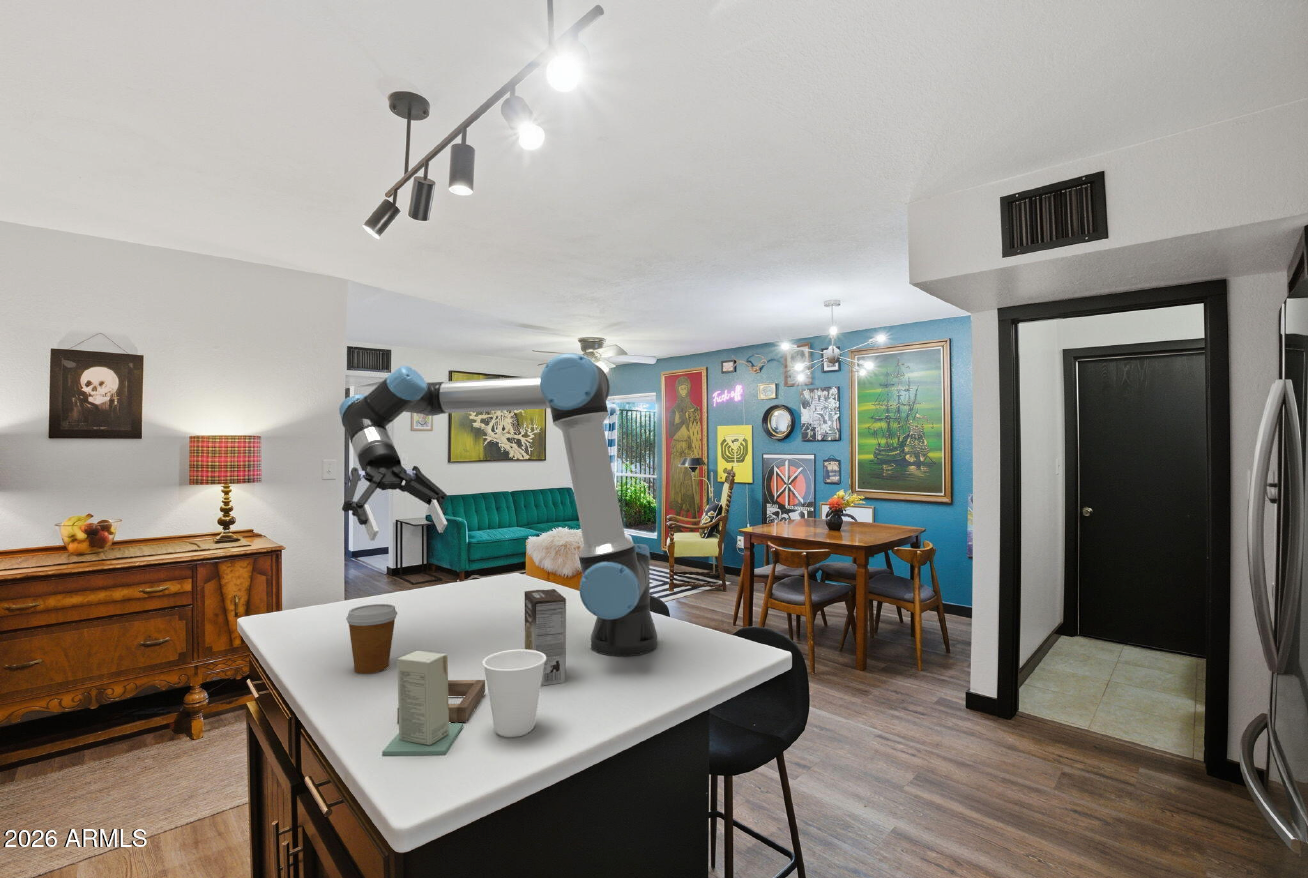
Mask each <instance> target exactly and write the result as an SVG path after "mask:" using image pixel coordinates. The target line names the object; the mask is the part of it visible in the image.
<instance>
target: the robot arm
mask: <svg viewBox="0 0 1308 878" xmlns="http://www.w3.org/2000/svg"><path fill="white" fill-rule="evenodd" d="M610 388H611V387H610V381H609V378H608V375H607V374H606V372H605V371H604V369H602V368H601V366H598V365H597V364H595V363H594V362H593V361H592V359H590V358H589V357H587V356H585V355H582V354H577V353H574V352H565V353H562V354H558V355H557V356H555V357H553V358H552V359H550V360H549V361H547V364H546V365H544V367H543V369H542V371H541V374H540V376H538V375H537V376H521V377H507V378H506V377H505V378H504V377H502V378H490V379H489V378H486V379H484V378H483V379H472V380H471V379H468V380H452V381H450V380H449V381H433V382H428V381H426V380H425V379H424V377H423V376H422V375H421V374H420V373H419V372H418V371H417V370H415V369H413V368H412V367H411V366H408V365H401V366H399V367H398V368H397V369H396V370H394V371H392V372H391V373H390V374H388V375H387V377H386V378H385V379H384V380H382V381H381V382H380V383H379V384H378V385H377V386H375V388H374V389H372V390H371V391H370V392H369V393H368V394H361V393H359V394H357V393H356V394H353V395H352V396H349V397H347V398H345V399H343V400H342V402H341V403H340V406H339V407H338V409H339V415H340V419H341V424H342V426H343V428H344V430H345V432H346V435H347V436H348V438H349V441H350V444H351V446H352V450H353V451H354V453H355V456H356V458H357V460H358V464H359V466H360V469H361V470H359V468H358V467H355V466H354V467H351V470H350V472H349V474H348V482H349V484H348V487H347V491H346V494H345V497H344V501H343V503H342V507H341V511H342V512H345V513H347V512H351V515H352V517H356V519H357V522H358V524H359V525H361V526H364V528H365V530H366V533H367V535H368V539H369V540H370V542H372V541H375V540H376V538H377V536H378V533H379V532H380V530H379V527H378V525H377V522H376V520H375V517H374V515H373V512H372V511H371V508H370V505H369V504H367V502H368V501H369V500H370V498H371V497H372V496H373V494H374V493H375V492H376V490H378V489H379V490H381V491H386V490H387V491H388V490H392V491H393V490H394V491H396V490H399V491H401V492H402V493H405V492H406V493H407V494H409V495H411V496H413V497H414V498H416V499H418V500H419V501H421V502H422V503H424V504H426V505H428V508H427V510H428V512H429V514H430V516H431V518H432V520H433V522H434V524H435V526H436V529H437V531H438V533H439V534H440V533H441V534H442V533H444V531H445V529H446V528H447V525H448V522H447V520H446V518H445V513H446V511H445V509H444V506H443V504H444V502H445V501H446V499H447V496H448V493H446V492H445V491H443V489H441V488H440V487H439V486H437V484H436V483H434V482H433V481H432V480H431V479H430V478H428V477H427V476H426V475H425V474H424V473H422V471H421V469H420V467H418V466H417V465H413V466H412V468H409V469H406V468H405V467H404V466H403V465H402V461H401V458H400V455H399V454H398V451H397V449H396V447H395V444H394V442H393V440H392V438H391V436H390V434H389V432H388V430H387V426H388V425H389V424H391V423H392V422H393V421H395V420H396V419H397V418H398V417H399V416H400V415H402V414H403V413H411V414H419V415H424V416H429V417H430V416H433V417H434V416H439V415H445V414H459V413H480V412H481V413H482V412H502V411H520V410H521V411H522V410H523V411H524V410H543V409H544V410H545V409H550V410H549V411H550V414H551V420H552V425H553V426H554V427H556V428H557V429H559V430H560V431H561V432H562V436H563V437H562V438H563V442H564V449H565V454H566V458H567V463H568V468H569V473H570V477H571V479H570V480H571V483H572V489H573V494H574V500H575V504H576V505H575V506H576V510H577V516H578V520H579V525H580V532H581V537H582V542H583V547H582V548H581V550H580V552H579V553H578V560H579V566H580V571H581V572H580V573H581V575H582V576H581V578H580V582H579V597H580V600H581V602H582V605H583V606H584V607H585V609H586V610H587V611H588V612H589V613H591V614H592V615H593V616H595V617H596V620H595V622H594V625H593V629H592V632H591V635H590V648H591V649H592V650H593V651H594V652H597V653H599V654H603V655H608V656H615V657H616V656H617V657H618V656H620V657H622V656H623V657H624V656H625V657H627V656H637V655H643V654H646V653H650V652H652V651H654V650H655V649H657V648H658V643H659V642H658V640H659V639H658V637H659V636H658V632H657V629H656V627H655V623H654V619H653V617H652V614H651V610H650V609H651V605H650V603H651V602H650V601H651V591H650V590H651V588H650V584H651V583H650V577H651V576H650V568H651V567H650V560H651V555H650V547H649V546H648V545H647V544H645V543H644V544H643V543H642V544H641V543H634V542H633V541H631V540H630V539H628V538H627V536H626V535H625V529H624V524H623V519H622V514H621V509H620V505H619V498H618V493H617V490H616V489H617V488H616V483H615V479H614V473H613V468H612V463H611V458H610V457H611V456H610V453H609V452H610V451H609V448H608V441H607V437H606V433H605V432H606V431H605V426H604V422H605V420H606V419H607V417H608V416H609V409H608V404H607V400H608V398H609V395H610ZM362 479H364V481H366V482H368V483H369V484H368V485H367V487H366V488H365V490H364V491H363V492H362V494H361V495H360V496H359V498H358V499H357V500H355V501H354V497H355V494H356V491H357V488H358V485H359V484H358V483H359V482H361V481H362ZM403 482H404V484H403Z"/></svg>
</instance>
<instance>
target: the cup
mask: <svg viewBox="0 0 1308 878" xmlns="http://www.w3.org/2000/svg"><path fill="white" fill-rule="evenodd" d="M545 661H546V656H545V654H543V653H541V652H539V651H535V650H526V649H525V648H524V649H523V648H522V649H521V648H520V649H509V650H508V649H507V650H503V651H499V652H495V653H492V654H489V655H488V656H486V657H485V658H484V659H483V660H482V663H481V664H482V666H483V668H484V674H485V682H486V685H487V686H486V687H487V691H488V692H487V693H488V696H489V703H490V704H489V705H490V710H491V715H492V716H491V719H492V723H493V729H494V731H495V733H496V734H497V735H498V736H501V737H504V738H516V737H521V736H525V735H527V734H529V733H530V732H531V731H532V730H533V729H534V728H535V724H536V720H537V719H536V718H537V711H538V705H539V699H540V692H541V687H542V686H541V682H542V675H543V669H544V663H545ZM528 732H529V733H528Z"/></svg>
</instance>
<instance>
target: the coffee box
mask: <svg viewBox="0 0 1308 878" xmlns="http://www.w3.org/2000/svg"><path fill="white" fill-rule="evenodd" d="M566 639H567V598H566V597H564V596H563V595H562V594H561V593H560V592H559V591H558V590H556V589H555V588H553V589H533V590H525V591H524V649H526V650H535V651H539V652H541V653H543V654H545V656H546V661H545V663H544V669H543V675H542V682H541V686H540V687H543V686H544V687H545V686H550V685H556V684H562V683H563V684H564V683H566V678H567V677H566V673H567V672H566V671H567V670H566V668H567V665H566V663H567V657H566V656H567V651H566V649H567V642H566V641H567V640H566Z"/></svg>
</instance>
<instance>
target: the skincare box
mask: <svg viewBox="0 0 1308 878" xmlns="http://www.w3.org/2000/svg"><path fill="white" fill-rule="evenodd" d="M448 655H449V654H447V653H441V652H435V651H434V652H433V651H425V650H415V651H413V652H411V653H408V654H405V655H404V656H403V655H402V656H401V657H398V658H397V691H398V693H397V696H398V698H397V699H398V704H397V705H398V706H397V709H398V708H399V724H398V733H399V739H400V740H405V741H410V742H415V743H421V744H427V745H431V744H433V743H434V742H436V741H438V740H439V739H441V738H442V737H444V736H446V735H447V734H449V706H448V704H449V697H448V680H449V668H448V666H449V664H448V663H449V661H448V658H449V657H448Z"/></svg>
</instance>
